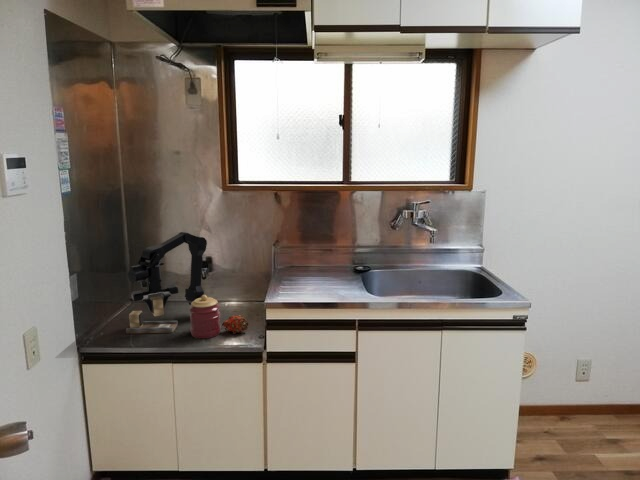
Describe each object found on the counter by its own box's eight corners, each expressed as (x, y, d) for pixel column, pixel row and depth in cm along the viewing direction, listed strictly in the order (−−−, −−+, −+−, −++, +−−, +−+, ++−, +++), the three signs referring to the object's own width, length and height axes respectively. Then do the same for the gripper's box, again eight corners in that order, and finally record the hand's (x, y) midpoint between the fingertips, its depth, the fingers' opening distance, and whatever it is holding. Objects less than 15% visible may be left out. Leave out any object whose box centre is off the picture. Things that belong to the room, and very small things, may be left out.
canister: (225, 328, 205) (224, 291, 201) (213, 340, 192) (211, 300, 189) (199, 326, 207) (197, 289, 204) (185, 337, 195) (182, 298, 191)
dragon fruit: (250, 337, 199) (224, 339, 201) (252, 320, 205) (227, 323, 207) (244, 326, 193) (217, 329, 195) (246, 310, 199) (221, 312, 201)
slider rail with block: (177, 325, 209) (176, 308, 208) (172, 332, 200) (171, 315, 199) (133, 325, 208) (132, 309, 207) (126, 333, 199) (124, 316, 198)
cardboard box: (161, 311, 202) (159, 296, 200) (164, 314, 198) (162, 299, 196) (150, 313, 199) (148, 298, 198) (153, 316, 195) (151, 301, 194)
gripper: (170, 269, 206) (173, 301, 210) (127, 276, 197) (130, 310, 200) (177, 274, 197) (180, 308, 201) (132, 282, 188) (135, 317, 191)
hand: (156, 311), depth 198 cm, fingers closed on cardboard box, 5 cm apart
